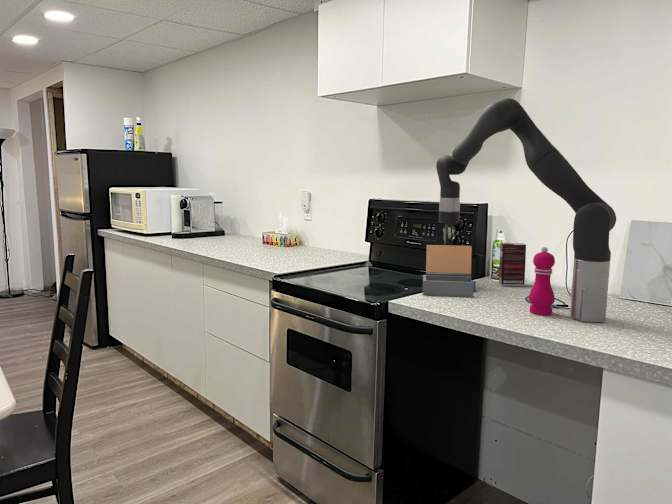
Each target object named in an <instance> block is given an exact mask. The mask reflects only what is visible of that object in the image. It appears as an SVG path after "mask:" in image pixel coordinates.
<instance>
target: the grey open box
mask: <svg viewBox="0 0 672 504" xmlns="http://www.w3.org/2000/svg"><path fill="white" fill-rule="evenodd" d="M471 280H472V275H471V276H458V275H427V274H423V275H422V296H434V297H435V296H439V297H463V298H467V297H469V298H474V293H475V292H474V282H469V281H471Z"/></svg>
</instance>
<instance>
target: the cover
mask: <svg viewBox="0 0 672 504" xmlns="http://www.w3.org/2000/svg"><path fill="white" fill-rule="evenodd" d="M472 249H473V248H472V245H455V244H454V245H453V244H452V245H444V244H426V251H425V252H426V261H425V275H441V276H471V277H472V251H473V250H472Z"/></svg>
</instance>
